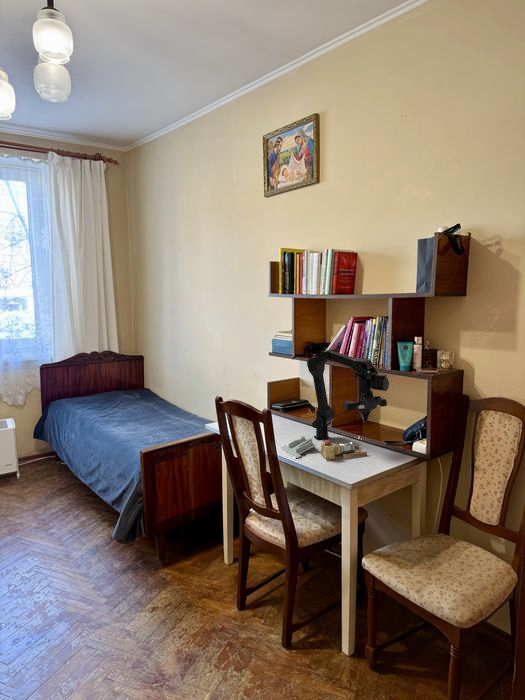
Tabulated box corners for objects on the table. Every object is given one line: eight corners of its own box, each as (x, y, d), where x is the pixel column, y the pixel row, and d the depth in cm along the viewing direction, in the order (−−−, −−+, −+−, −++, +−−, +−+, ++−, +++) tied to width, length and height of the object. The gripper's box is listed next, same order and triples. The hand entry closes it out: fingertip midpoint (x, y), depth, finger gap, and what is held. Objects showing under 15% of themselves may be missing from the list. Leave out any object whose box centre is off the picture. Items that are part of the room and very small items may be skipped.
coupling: (337, 452, 207) (337, 441, 206) (350, 450, 208) (350, 440, 207) (342, 457, 202) (341, 445, 201) (355, 455, 203) (354, 444, 202)
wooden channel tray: (319, 454, 208) (318, 438, 207) (357, 448, 212) (357, 433, 210) (327, 462, 198) (327, 446, 197) (367, 456, 202) (367, 440, 201)
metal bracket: (303, 431, 221) (319, 441, 207) (306, 442, 223) (323, 452, 209) (277, 445, 217) (291, 456, 203) (280, 456, 218) (295, 468, 204)
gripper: (351, 394, 198) (352, 430, 200) (392, 390, 202) (393, 425, 204) (341, 388, 209) (342, 422, 211) (381, 384, 212) (381, 417, 215)
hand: (365, 422), depth 210 cm, fingers closed
